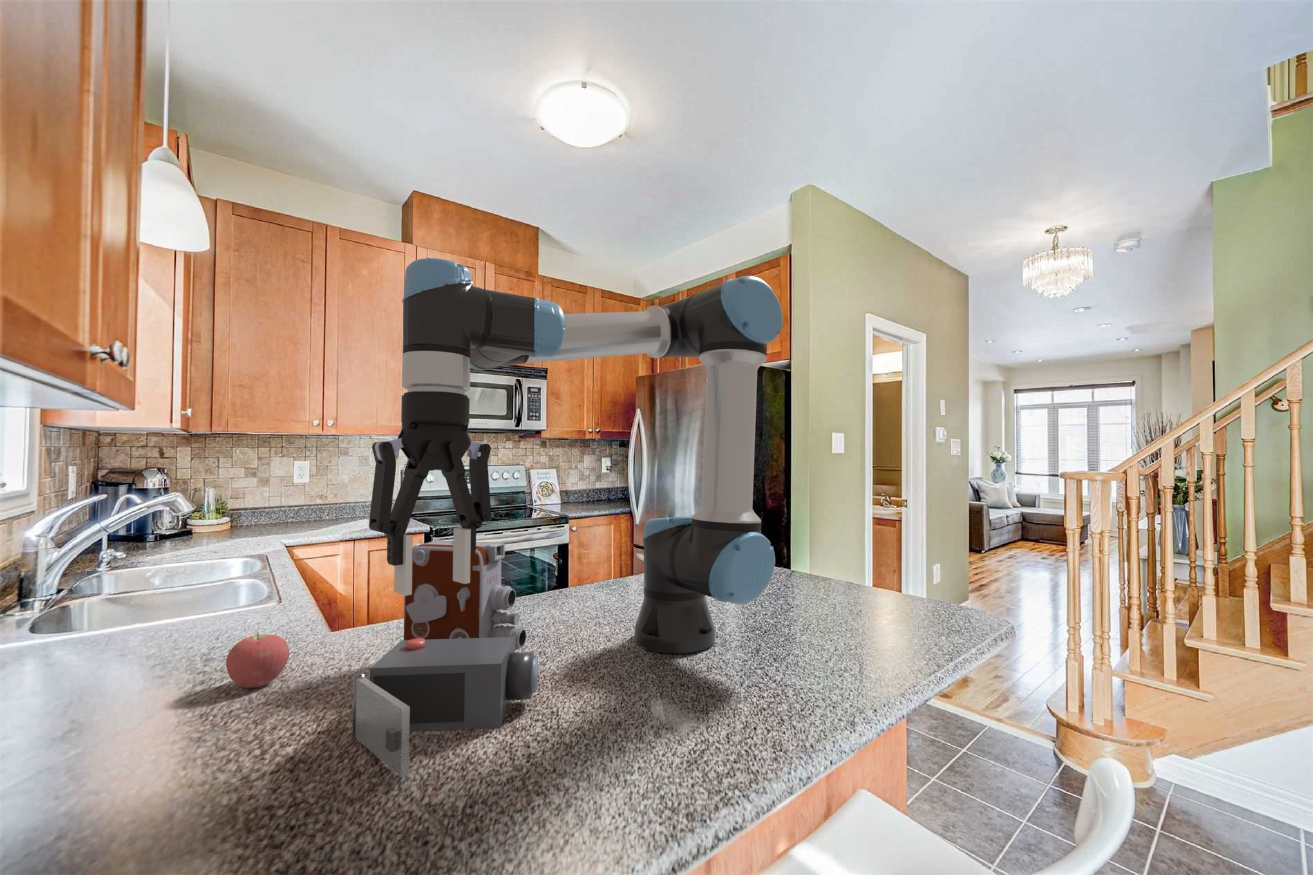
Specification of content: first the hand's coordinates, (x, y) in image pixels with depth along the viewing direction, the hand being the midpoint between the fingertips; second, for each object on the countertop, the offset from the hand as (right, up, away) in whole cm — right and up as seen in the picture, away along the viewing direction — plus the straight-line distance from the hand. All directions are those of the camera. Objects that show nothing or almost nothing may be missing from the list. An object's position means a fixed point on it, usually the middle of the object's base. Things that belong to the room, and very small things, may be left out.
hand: (433, 586), depth 62 cm
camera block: (0, -19, +9) cm, 21 cm away
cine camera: (-5, -20, +26) cm, 33 cm away
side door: (-6, -18, -2) cm, 19 cm away
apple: (-34, -20, +17) cm, 43 cm away
